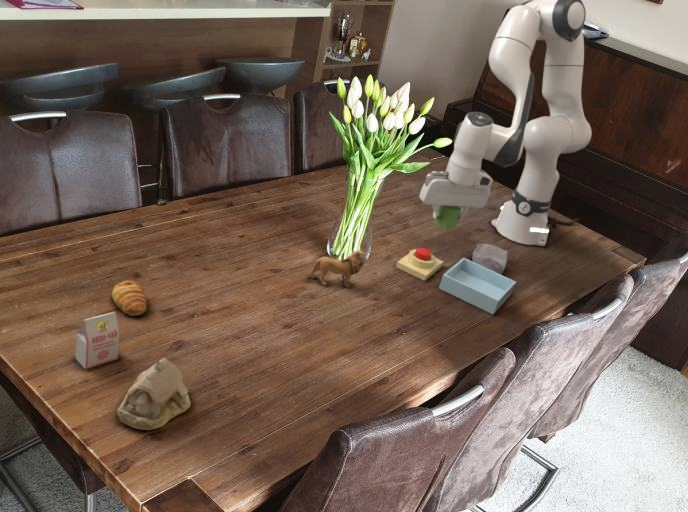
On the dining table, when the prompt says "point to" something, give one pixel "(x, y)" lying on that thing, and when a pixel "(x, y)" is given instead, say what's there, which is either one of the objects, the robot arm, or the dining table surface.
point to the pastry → (130, 298)
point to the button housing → (419, 265)
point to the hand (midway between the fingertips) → (446, 218)
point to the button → (423, 254)
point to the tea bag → (97, 340)
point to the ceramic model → (155, 397)
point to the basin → (477, 285)
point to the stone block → (490, 257)
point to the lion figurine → (339, 266)
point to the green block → (448, 216)
